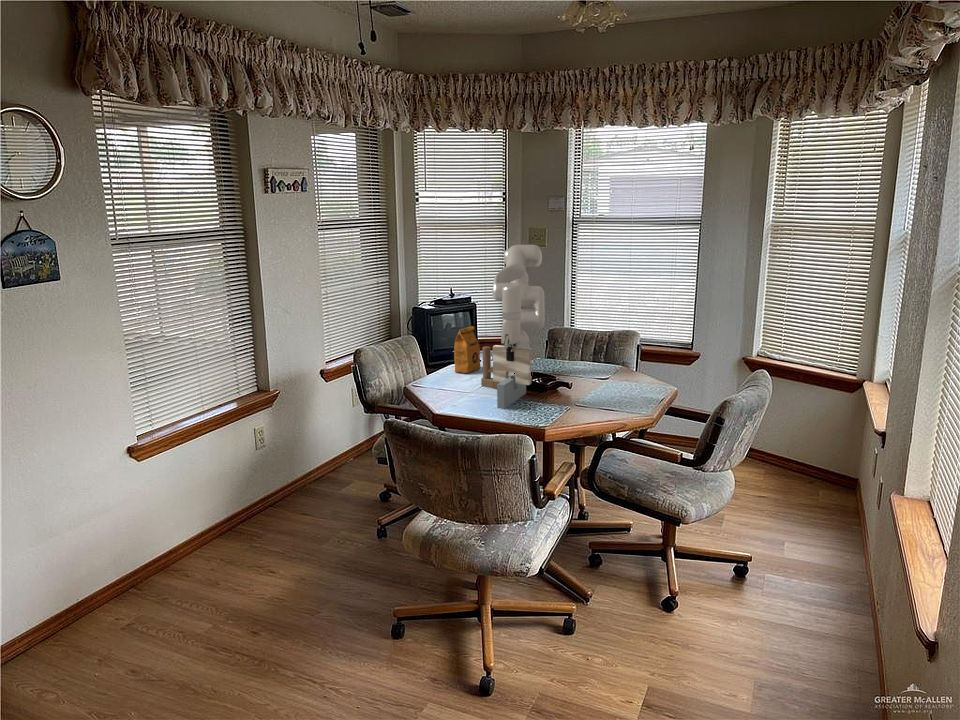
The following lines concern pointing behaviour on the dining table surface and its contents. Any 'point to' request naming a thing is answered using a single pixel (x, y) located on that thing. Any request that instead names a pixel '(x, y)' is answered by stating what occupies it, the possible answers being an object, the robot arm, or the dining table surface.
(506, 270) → the robot arm
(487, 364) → the tan post stand
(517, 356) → the upright beige panel
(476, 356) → the coffee package
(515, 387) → the grey rectangular panel
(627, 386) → the dining table surface
